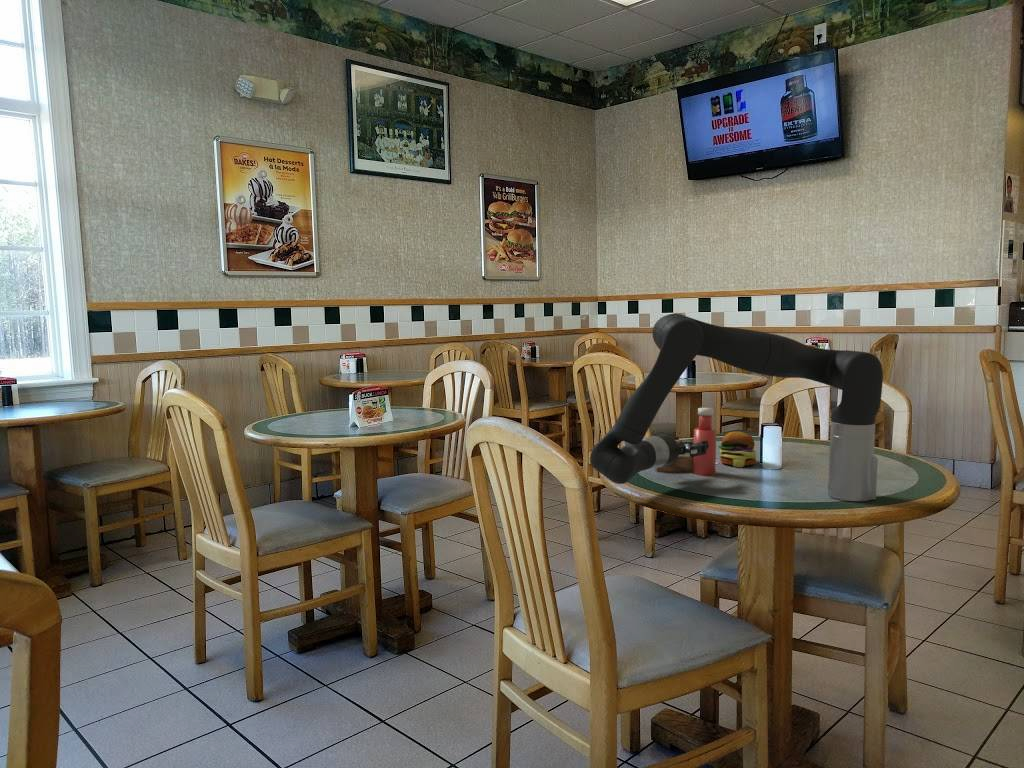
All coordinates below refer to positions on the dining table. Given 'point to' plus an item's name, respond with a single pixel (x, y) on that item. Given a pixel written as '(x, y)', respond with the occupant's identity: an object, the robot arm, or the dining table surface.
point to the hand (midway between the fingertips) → (691, 442)
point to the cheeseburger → (737, 449)
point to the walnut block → (678, 465)
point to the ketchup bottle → (706, 433)
